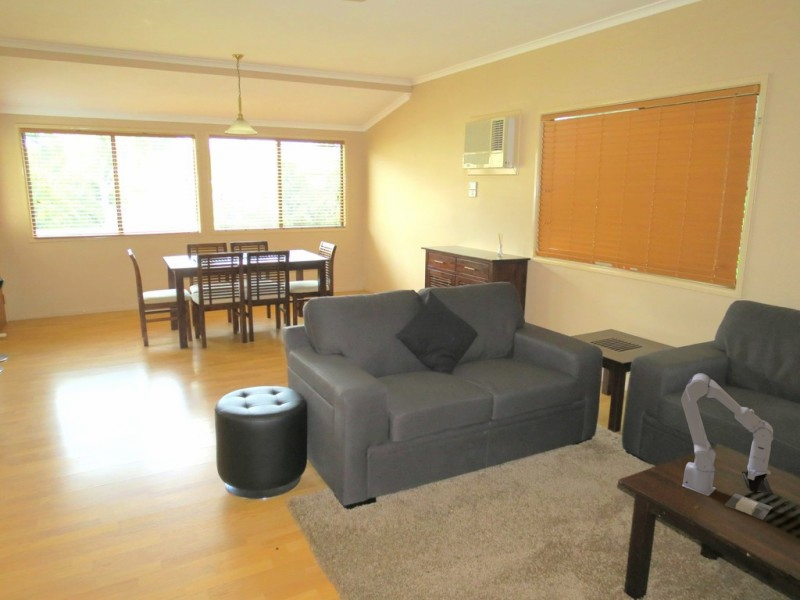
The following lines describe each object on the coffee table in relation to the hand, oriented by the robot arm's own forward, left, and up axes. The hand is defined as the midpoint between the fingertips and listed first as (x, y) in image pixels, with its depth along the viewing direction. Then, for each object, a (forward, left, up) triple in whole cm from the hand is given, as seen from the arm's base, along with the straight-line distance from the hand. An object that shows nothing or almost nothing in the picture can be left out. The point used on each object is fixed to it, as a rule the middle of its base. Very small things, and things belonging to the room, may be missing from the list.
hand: (753, 491), depth 201 cm
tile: (0, -3, -3) cm, 4 cm away
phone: (-3, +17, -6) cm, 18 cm away
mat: (0, -4, -5) cm, 6 cm away
